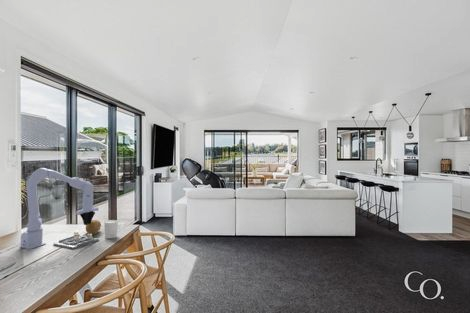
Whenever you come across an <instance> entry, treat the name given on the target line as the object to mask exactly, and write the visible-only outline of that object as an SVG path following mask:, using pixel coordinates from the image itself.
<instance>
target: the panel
mask: <svg viewBox="0 0 470 313" xmlns="http://www.w3.org/2000/svg"><path fill="white" fill-rule="evenodd" d="M75 234H79V231H74V232H73V234H72V236H68V237H66V238H63V239H59V240H58V242H54V243H53V246H55V247H61V248H66V249H70V250H76V249H79V248H82V247H85V246H88V245H90V243H91V244H93V242H94V243H96V242H98V241H100V239H99V238H95V237H94V236H93V235H92V234H88V233H87V236H85V235H81V234H79V237H81V239H80V240H77V241H73V238H75Z"/></svg>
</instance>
